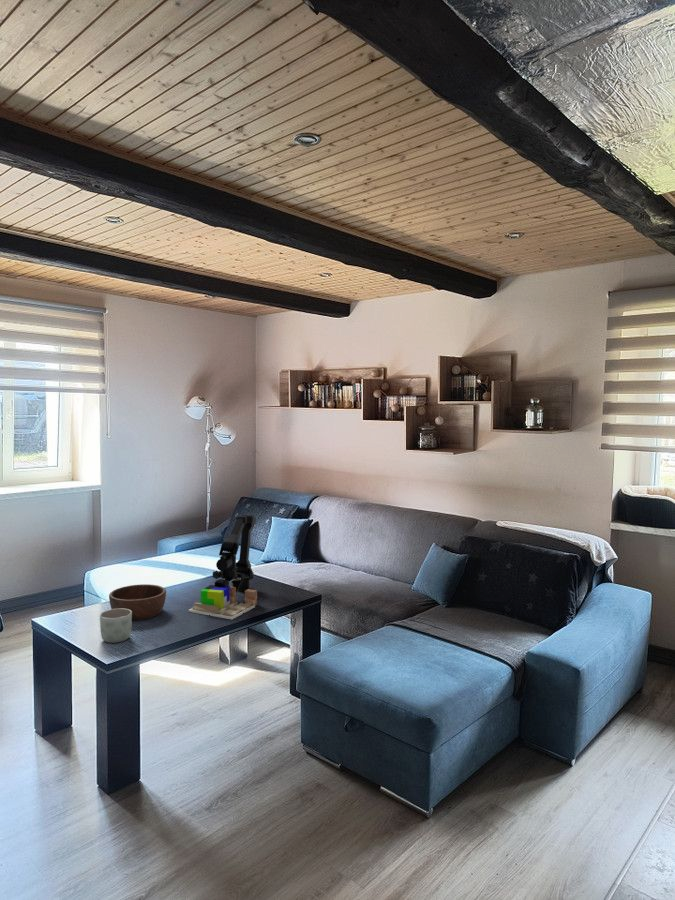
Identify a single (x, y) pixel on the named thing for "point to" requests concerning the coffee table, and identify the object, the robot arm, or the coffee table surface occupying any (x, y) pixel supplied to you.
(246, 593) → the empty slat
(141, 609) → the wooden bowl
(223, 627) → the coffee table surface
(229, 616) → the frame
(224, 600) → the puzzle toy
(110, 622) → the planter
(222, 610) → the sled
